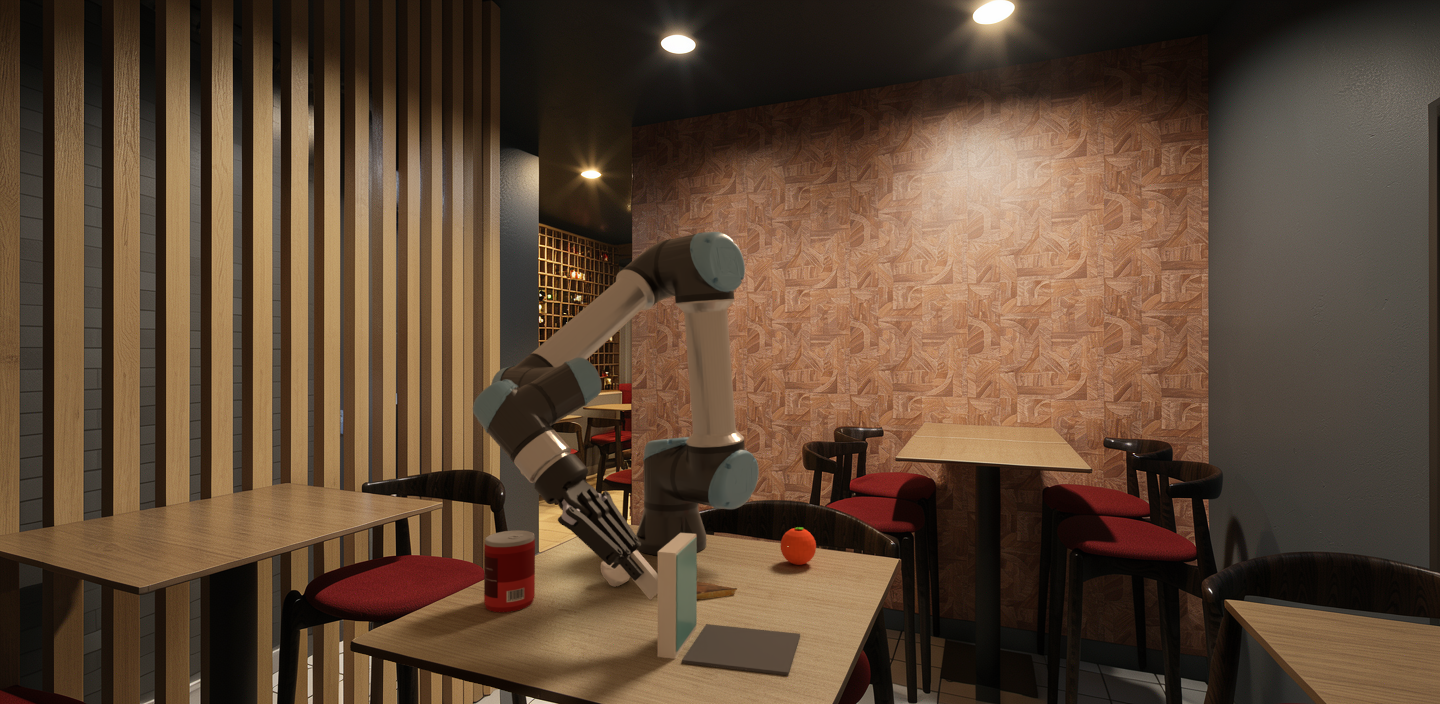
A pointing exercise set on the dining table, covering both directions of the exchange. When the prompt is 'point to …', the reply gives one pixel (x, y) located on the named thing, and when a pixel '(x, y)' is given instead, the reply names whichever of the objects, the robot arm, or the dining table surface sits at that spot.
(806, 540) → the clementine
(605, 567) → the dumpling
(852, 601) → the dining table surface
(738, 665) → the rubber mat
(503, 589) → the canned food
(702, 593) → the shard
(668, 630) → the glazed tile
